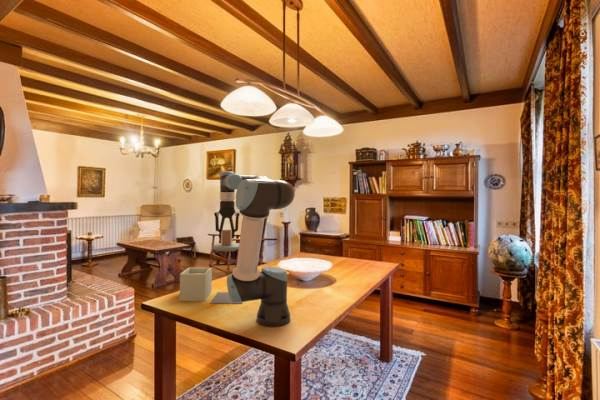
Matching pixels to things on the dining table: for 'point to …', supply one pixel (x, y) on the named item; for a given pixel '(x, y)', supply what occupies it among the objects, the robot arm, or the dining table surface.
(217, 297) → the mat
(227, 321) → the dining table surface
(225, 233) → the lid
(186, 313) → the dining table surface
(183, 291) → the box
